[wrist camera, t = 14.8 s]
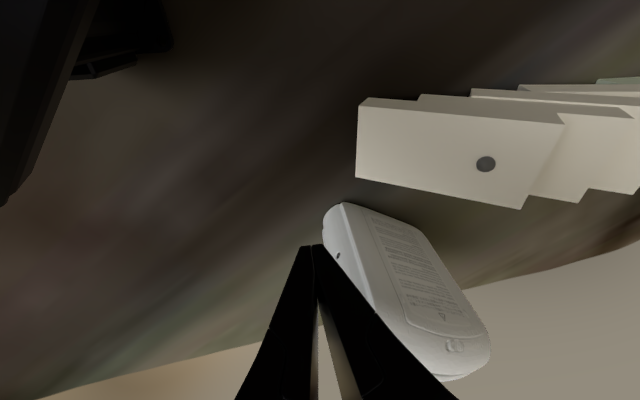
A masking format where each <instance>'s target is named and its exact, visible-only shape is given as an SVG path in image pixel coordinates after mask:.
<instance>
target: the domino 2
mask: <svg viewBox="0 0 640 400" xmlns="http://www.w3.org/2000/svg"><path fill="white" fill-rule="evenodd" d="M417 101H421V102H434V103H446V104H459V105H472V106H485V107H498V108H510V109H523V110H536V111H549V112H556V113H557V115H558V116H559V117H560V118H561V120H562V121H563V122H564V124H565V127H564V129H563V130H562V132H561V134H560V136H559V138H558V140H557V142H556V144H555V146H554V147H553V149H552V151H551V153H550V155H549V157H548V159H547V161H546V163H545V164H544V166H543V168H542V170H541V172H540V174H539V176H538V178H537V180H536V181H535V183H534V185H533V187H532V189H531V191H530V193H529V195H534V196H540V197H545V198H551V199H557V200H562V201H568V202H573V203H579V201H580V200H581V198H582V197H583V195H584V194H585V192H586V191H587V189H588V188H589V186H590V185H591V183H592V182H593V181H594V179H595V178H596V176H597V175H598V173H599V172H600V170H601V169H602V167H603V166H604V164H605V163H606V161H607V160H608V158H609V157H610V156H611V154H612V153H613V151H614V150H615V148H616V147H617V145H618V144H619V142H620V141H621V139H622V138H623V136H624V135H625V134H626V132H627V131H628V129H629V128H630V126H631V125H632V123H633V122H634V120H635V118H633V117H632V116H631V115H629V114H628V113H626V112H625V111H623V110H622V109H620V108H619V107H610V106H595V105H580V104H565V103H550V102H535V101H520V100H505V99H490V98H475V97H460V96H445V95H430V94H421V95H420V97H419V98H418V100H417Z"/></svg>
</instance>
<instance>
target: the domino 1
mask: <svg viewBox="0 0 640 400" xmlns="http://www.w3.org/2000/svg"><path fill="white" fill-rule="evenodd" d="M564 127H565V124H564V122H563V121H562V120H561V118H560V117H559V116H558V115H557V113H556V112H549V111H536V110H523V109H510V108H498V107H485V106H472V105H459V104H446V103H434V102H421V101H408V100H395V99H383V98H370V97H368V98H367V99H366V100H365V101H364V102H362V103H361V104H360V105H359V108H358V129H357V150H356V171H355V177H358V178H363V179H368V180H373V181H378V182H383V183H388V184H393V185H398V186H403V187H408V188H413V189H418V190H423V191H428V192H433V193H438V194H443V195H448V196H453V197H458V198H463V199H468V200H473V201H478V202H484V203H489V204H494V205H499V206H504V207H509V208H514V209H519V210H521V208H522V206H523V204H524V202H525V200H526V198H527V197H528V195H529V193H530V191H531V189H532V187H533V185H534V183H535V181H536V180H537V178H538V176H539V174H540V172H541V170H542V168H543V166H544V164H545V163H546V161H547V159H548V157H549V155H550V153H551V151H552V149H553V147H554V146H555V144H556V142H557V140H558V138H559V136H560V134H561V132H562V130H563V129H564Z"/></svg>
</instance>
